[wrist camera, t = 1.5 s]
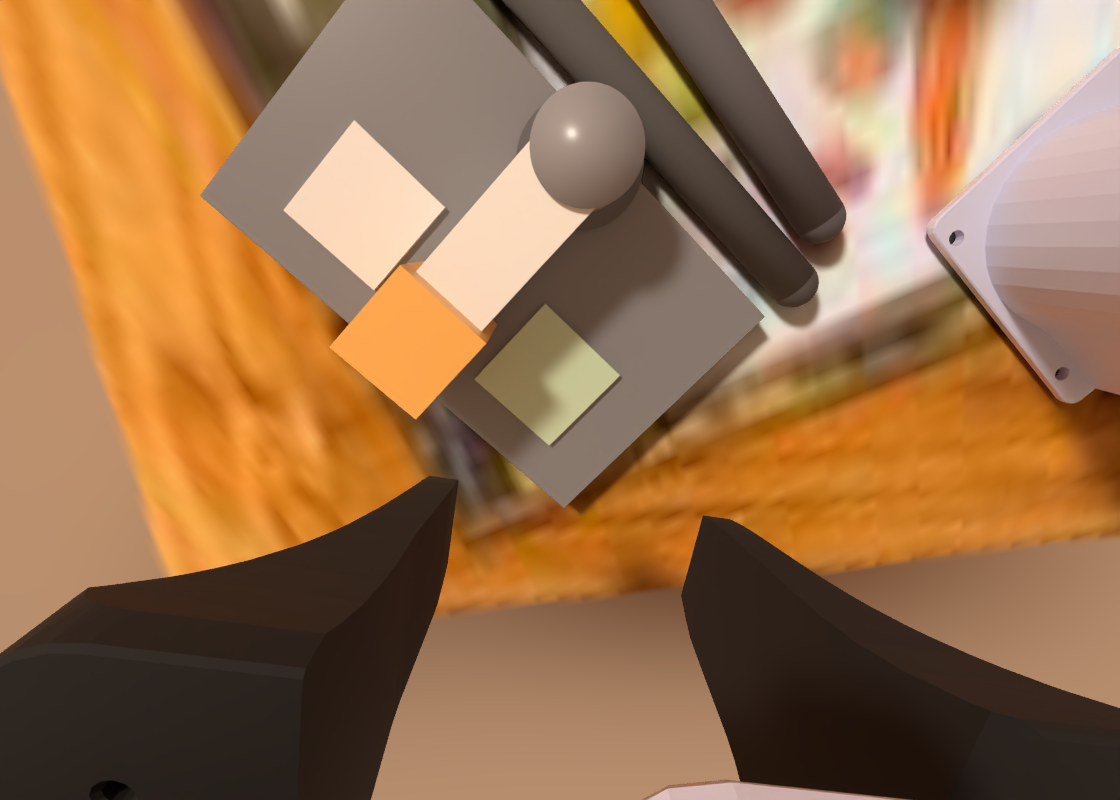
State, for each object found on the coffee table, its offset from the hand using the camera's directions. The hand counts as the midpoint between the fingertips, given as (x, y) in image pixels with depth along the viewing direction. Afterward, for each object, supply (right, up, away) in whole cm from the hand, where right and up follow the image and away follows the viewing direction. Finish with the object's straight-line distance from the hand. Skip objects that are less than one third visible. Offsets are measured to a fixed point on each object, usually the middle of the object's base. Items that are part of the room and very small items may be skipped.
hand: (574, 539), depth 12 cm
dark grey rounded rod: (+5, +13, +6) cm, 15 cm away
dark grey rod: (+3, +12, +6) cm, 14 cm away
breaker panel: (-2, +8, +7) cm, 11 cm away
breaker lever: (-2, +8, +6) cm, 10 cm away
